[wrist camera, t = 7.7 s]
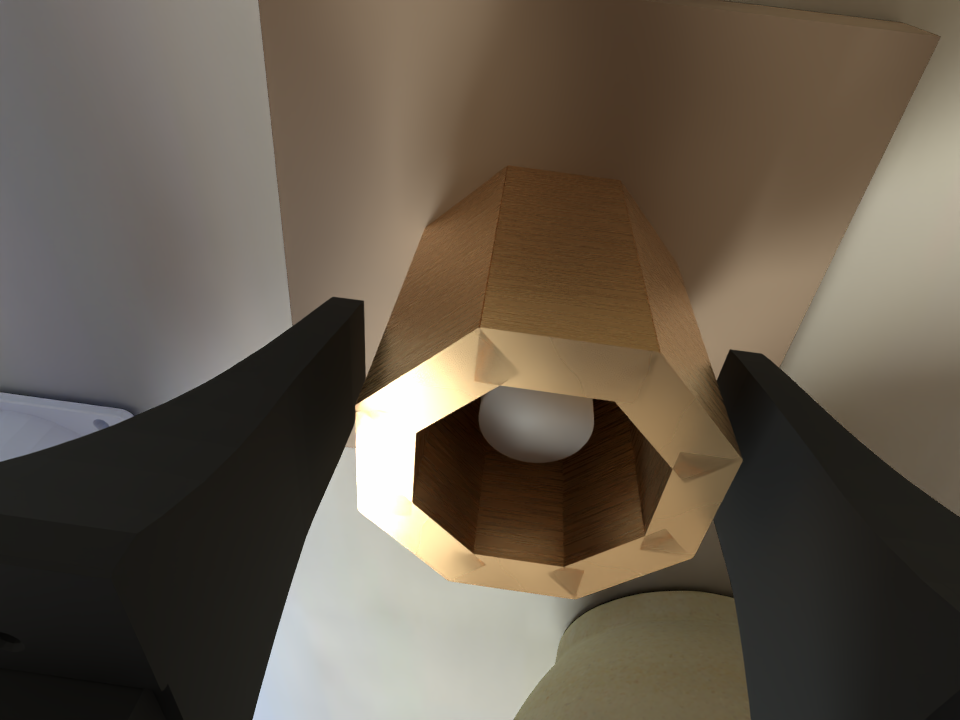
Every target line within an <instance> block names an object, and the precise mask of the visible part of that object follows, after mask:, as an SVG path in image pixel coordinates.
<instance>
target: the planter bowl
mask: <svg viewBox="0 0 960 720" xmlns="http://www.w3.org/2000/svg"><path fill="white" fill-rule="evenodd" d="M514 720H751V717H750V707H749V699H748V691H747V683H746V675H745V667H744V660H743V652H742V645H741V639H740V632H739V626H738V619H737V613H736V606H735V600H734V598H731V597H728V596H723V595H718V594H712V593H706V592H698V591H661V592H650V593H642V594H637V595H633V596H628V597H624V598H620V599H617V600H613V601H611V602H608V603H605V604H602V605H600V606H598V607H596V608H594V609H592V610H590V611H588V612H586V613H585V614H583V615H582V616H581V617H579V618H578V619H577V620H576V621H574V622H573V623H572V624H571V625H570V626H569V627H568V629H567V630H566V631H565V633H564V634H563V636H562V638H561V640H560V643H559V646H558V651H557V657H556V662H555V665H554V666H553V667H552V668H551V669H550V670H549V671H548V673H547V674H546V675H545V676H544V677H543V678H542V679H541V681H540V682H539V683H538V685H537V686H536V687H535V689H534V690H533V691H532V693H531V694H530V695H529V697H528V698H527V700H526V701H525V703H524V704H523V706H522V707H521V709H520V710H519V712H518V713H517V715H516V717H515V718H514Z"/></svg>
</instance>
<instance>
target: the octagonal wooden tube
mask: <svg viewBox="0 0 960 720" xmlns="http://www.w3.org/2000/svg"><path fill="white" fill-rule="evenodd" d="M500 385H501V386H508V387H515V388H522V389H529V390H536V391H544V392H551V393H558V394H565V395H572V396H579V397H586V398H593V412H594V427H593V431H592V434H591V436H590V438H589V440H588V441H587V442H586V444H585V445H584V446H583V447H582V448H581V449H580V450H578V451H577V452H575V453H574V454H572V455H570V456H568V457H566V458H564V459H561V460H557V461H553V462H546V463H531V462H524V461H519V460H516V459H513V458H510V457H507V456H506V455H504V454H502V453H500V452H499V451H497V450H496V449H495V448H493V447H492V446H491V445H490V444H489V443H488V442H487V440H486V439H485V438H484V436H483V434H482V432H481V429H480V426H479V410H480V403H481V396H482V395H484V394H486V393H487V392H489V391H491V390H493V389H494V388H496V387H498V386H500ZM355 419H356V457H357V495H358V510H359V511H360V512H361V513H363V514H364V515H365V516H366V517H368V518H369V519H370V520H371V521H373V522H374V523H375V524H377V525H378V526H379V527H380V528H382V529H383V530H384V531H385V532H387V533H388V534H389V535H391V536H392V537H393V538H394V539H396V540H397V541H398V542H399V543H401V544H402V545H403V546H405V547H406V548H407V549H408V550H410V551H411V552H412V553H413V554H415V555H416V556H417V557H419V558H420V559H421V560H422V561H424V562H425V563H426V564H427V565H429V566H430V567H431V568H433V569H434V570H435V571H436V572H438V573H439V574H440V575H441V576H443V577H444V578H445V579H447V580H448V581H452V582H459V583H465V584H472V585H479V586H486V587H493V588H500V589H507V590H514V591H521V592H527V593H534V594H541V595H548V596H555V597H562V598H569V599H578V598H581V597H584V596H587V595H589V594H592V593H595V592H598V591H601V590H604V589H606V588H609V587H612V586H615V585H618V584H621V583H624V582H626V581H629V580H632V579H635V578H638V577H641V576H643V575H646V574H649V573H652V572H655V571H658V570H661V569H663V568H666V567H669V566H672V565H675V564H678V563H680V562H683V561H686V560H689V559H692V558H693V557H694V555H695V553H696V551H697V550H698V548H699V546H700V544H701V542H702V540H703V538H704V536H705V534H706V532H707V530H708V528H709V526H710V524H711V522H712V520H713V518H714V516H715V514H716V512H717V510H718V508H719V506H720V505H721V503H722V501H723V499H724V497H725V495H726V493H727V491H728V489H729V487H730V485H731V483H732V481H733V479H734V477H735V475H736V473H737V471H738V469H739V467H740V465H741V463H742V461H743V459H742V456H741V453H740V450H739V447H738V444H737V441H736V438H735V435H734V432H733V429H732V426H731V423H730V420H729V417H728V414H727V411H726V408H725V405H724V402H723V399H722V396H721V393H720V390H719V387H718V384H717V381H716V378H715V375H714V372H713V369H712V366H711V363H710V360H709V357H708V354H707V351H706V348H705V345H704V342H703V339H702V336H701V333H700V330H699V327H698V324H697V321H696V318H695V315H694V312H693V309H692V306H691V303H690V300H689V297H688V294H687V291H686V288H685V285H684V282H683V279H682V276H681V273H680V270H679V267H678V264H677V262H676V260H675V259H674V257H673V256H672V254H671V253H670V252H669V250H668V249H667V247H666V246H665V244H664V243H663V241H662V240H661V239H660V237H659V236H658V234H657V233H656V231H655V230H654V228H653V227H652V225H651V224H650V223H649V221H648V220H647V218H646V217H645V215H644V214H643V212H642V211H641V209H640V208H639V207H638V205H637V204H636V202H635V201H634V199H633V198H632V196H631V195H630V193H629V192H628V191H627V189H626V188H625V186H624V185H623V183H622V182H621V181H620V180H614V179H607V178H599V177H592V176H584V175H577V174H569V173H562V172H555V171H547V170H540V169H532V168H525V167H517V166H510V165H508V166H506V167H505V168H503V169H502V170H501V171H499V172H498V173H497V174H495V175H494V176H493V177H491V178H490V179H489V180H488V181H486V182H485V183H484V184H482V185H481V186H480V187H478V188H477V189H476V190H474V191H473V192H472V193H470V194H469V195H468V196H466V197H465V198H464V199H462V200H461V201H460V202H458V203H457V204H456V205H455V206H453V207H452V208H451V209H449V210H448V211H447V212H445V213H444V214H443V215H441V216H440V217H439V218H437V219H436V220H435V221H433V222H432V223H431V224H429V225H428V226H427V227H425V229H424V231H423V234H422V237H421V239H420V242H419V244H418V247H417V249H416V252H415V254H414V257H413V260H412V262H411V265H410V267H409V270H408V272H407V275H406V277H405V280H404V283H403V285H402V288H401V290H400V293H399V295H398V298H397V300H396V303H395V305H394V308H393V311H392V313H391V316H390V318H389V321H388V323H387V326H386V328H385V331H384V334H383V336H382V339H381V341H380V344H379V346H378V349H377V351H376V354H375V357H374V359H373V362H372V364H371V367H370V369H369V372H368V374H367V377H366V380H365V382H364V385H363V387H362V390H361V392H360V395H359V397H358V400H357V402H356V405H355Z"/></svg>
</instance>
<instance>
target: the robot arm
mask: <svg viewBox="0 0 960 720" xmlns="http://www.w3.org/2000/svg"><path fill="white" fill-rule="evenodd" d="M365 380H366V366H365V318H364V301H363V300H355V299H348V298H340V297H331V298H330V299H329V300H327V301H326V302H324V303H323V304H322V305H320V306H319V307H318V308H316V309H315V310H314V311H312V312H311V313H310V314H308V315H307V316H306V317H304V318H303V319H302V320H300V321H299V322H297V323H296V324H295V325H293V326H292V327H291V328H289V329H288V330H287V331H285V332H284V333H282V334H281V335H280V336H278V337H277V338H275V339H274V340H273V341H271V342H270V343H268V344H267V345H266V346H264V347H263V348H261V349H259V350H258V351H256V352H255V353H253V354H252V355H250V356H248V357H247V358H245V359H244V360H242V361H241V362H239V363H237V364H236V365H234V366H233V367H231V368H230V369H228V370H226V371H225V372H223V373H221V374H220V375H218V376H216V377H215V378H213V379H211V380H209V381H207V382H206V383H204V384H202V385H200V386H198V387H196V388H194V389H192V390H190V391H188V392H186V393H184V394H182V395H180V396H179V397H177V398H175V399H172V400H170V401H168V402H166V403H164V404H162V405H159V406H157V407H155V408H152V409H150V410H148V411H145V412H143V413H141V414H138V415H136V416H133V415H132V414H131V413H130V412H128V411H126V410H123V409H118V408H111V407H103V406H96V405H89V404H82V403H74V402H67V401H60V400H52V399H45V398H38V397H31V396H23V395H16V394H9V393H1V392H0V720H252V719H253V715H254V712H255V708H256V704H257V700H258V696H259V693H260V689H261V685H262V682H263V678H264V675H265V671H266V668H267V664H268V660H269V657H270V653H271V650H272V646H273V643H274V639H275V636H276V632H277V629H278V626H279V622H280V619H281V616H282V612H283V609H284V606H285V602H286V599H287V596H288V592H289V589H290V586H291V582H292V579H293V576H294V573H295V570H296V567H297V564H298V560H299V557H300V554H301V551H302V548H303V545H304V542H305V539H306V536H307V534H308V531H309V528H310V526H311V523H312V521H313V518H314V516H315V514H316V511H317V509H318V507H319V505H320V502H321V500H322V498H323V496H324V493H325V491H326V489H327V487H328V484H329V482H330V480H331V477H332V475H333V473H334V471H335V468H336V466H337V464H338V462H339V459H340V457H341V455H342V452H343V450H344V448H345V446H346V443H347V441H348V439H349V436H350V434H351V432H352V429H353V427H354V424H355V420H356V419H355V405H356V402H357V400H358V397H359V395H360V392H361V390H362V387H363V385H364V382H365ZM717 384H718V387H719V390H720V393H721V396H722V399H723V402H724V405H725V408H726V411H727V414H728V417H729V420H730V423H731V426H732V429H733V432H734V435H735V438H736V441H737V444H738V447H739V450H740V453H741V456H742V459H743V461H742V463H741V465H740V467H739V469H738V471H737V473H736V475H735V477H734V479H733V481H732V483H731V485H730V487H729V489H728V491H727V493H726V495H725V497H724V499H723V501H722V503H721V505H720V506H719V508H718V510H717V512H716V514H715V516H714V518H713V519H714V523H715V527H716V530H717V534H718V538H719V541H720V545H721V549H722V552H723V556H724V559H725V563H726V567H727V570H728V574H729V578H730V582H731V587H732V591H733V596H734V600H735V606H736V613H737V619H738V626H739V632H740V639H741V645H742V652H743V660H744V667H745V675H746V683H747V691H748V699H749V707H750V717H751V720H960V517H959V516H957V515H956V514H954V513H953V512H951V511H950V510H948V509H947V508H945V507H944V506H943V505H941V504H940V503H938V502H937V501H936V500H934V499H933V498H931V497H930V496H929V495H927V494H926V493H925V492H923V491H922V490H920V489H919V488H918V487H916V486H915V485H913V484H912V483H911V482H909V481H908V480H907V479H905V478H904V477H903V476H901V475H900V474H899V473H898V472H896V471H895V470H894V469H892V468H891V467H890V466H889V465H888V464H886V463H885V462H884V461H883V460H881V459H880V458H879V457H878V456H877V455H875V454H874V453H873V452H872V451H871V450H869V449H868V448H867V447H866V446H865V445H863V444H862V443H861V442H860V441H859V440H857V439H856V438H855V437H854V436H853V435H852V434H851V433H849V432H848V431H847V430H846V429H845V428H844V427H843V426H842V425H840V424H839V423H838V422H837V421H836V420H835V419H834V418H833V417H832V416H831V415H829V414H828V413H827V412H826V411H825V410H824V409H823V408H822V407H821V406H820V405H819V404H818V403H816V402H815V401H814V400H813V399H812V398H811V397H810V396H809V395H808V394H807V393H806V392H805V391H804V390H803V389H802V388H800V387H799V386H798V385H797V384H796V383H795V382H794V381H793V380H792V379H791V378H790V377H789V376H788V375H787V374H785V373H784V372H783V371H782V370H781V369H780V368H779V367H778V366H777V365H775V364H774V363H773V362H772V361H771V360H770V359H768V358H767V357H766V356H765V355H763V354H762V353H754V352H747V351H739V350H732V349H730V350H729V352H728V354H727V357H726V359H725V362H724V364H723V366H722V369H721V371H720V374H719V376H718V378H717Z"/></svg>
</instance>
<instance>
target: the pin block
mask: <svg viewBox="0 0 960 720" xmlns="http://www.w3.org/2000/svg"><path fill="white" fill-rule="evenodd" d="M258 2H259V12H260V21H261V31H262V40H263V50H264V59H265V69H266V78H267V88H268V97H269V107H270V116H271V126H272V135H273V145H274V154H275V164H276V173H277V183H278V192H279V202H280V211H281V221H282V230H283V240H284V249H285V259H286V268H287V278H288V287H289V297H290V306H291V316H292V326H293V325H295V324H296V323H297V322H299V321H300V320H302V319H303V318H304V317H306V316H307V315H308V314H310V313H311V312H312V311H314V310H315V309H316V308H318V307H319V306H320V305H322V304H323V303H324V302H326V301H327V300H329V299H330V298H331V297H340V298H348V299H355V300H363V301H364V318H365V366H366V377H367V374H368V372H369V369H370V367H371V364H372V362H373V359H374V357H375V354H376V351H377V349H378V346H379V344H380V341H381V339H382V336H383V334H384V331H385V328H386V326H387V323H388V321H389V318H390V316H391V313H392V311H393V308H394V305H395V303H396V300H397V298H398V295H399V293H400V290H401V288H402V285H403V283H404V280H405V277H406V275H407V272H408V270H409V267H410V265H411V262H412V260H413V257H414V254H415V252H416V249H417V247H418V244H419V242H420V239H421V237H422V234H423V231H424V229H425V227H427V226H428V225H429V224H431V223H432V222H433V221H435V220H436V219H437V218H439V217H440V216H441V215H443V214H444V213H445V212H447V211H448V210H449V209H451V208H452V207H453V206H455V205H456V204H457V203H458V202H460V201H461V200H462V199H464V198H465V197H466V196H468V195H469V194H470V193H472V192H473V191H474V190H476V189H477V188H478V187H480V186H481V185H482V184H484V183H485V182H486V181H488V180H489V179H490V178H491V177H493V176H494V175H495V174H497V173H498V172H499V171H501V170H502V169H503V168H505V167H506V166H508V165H510V166H517V167H525V168H532V169H540V170H547V171H555V172H562V173H569V174H577V175H584V176H592V177H599V178H607V179H614V180H620V181H621V182H622V183H623V185H624V186H625V188H626V189H627V191H628V192H629V193H630V195H631V196H632V198H633V199H634V201H635V202H636V204H637V205H638V207H639V208H640V209H641V211H642V212H643V214H644V215H645V217H646V218H647V220H648V221H649V223H650V224H651V225H652V227H653V228H654V230H655V231H656V233H657V234H658V236H659V237H660V239H661V240H662V241H663V243H664V244H665V246H666V247H667V249H668V250H669V252H670V253H671V254H672V256H673V257H674V259H675V260H676V262H677V264H678V267H679V270H680V273H681V276H682V279H683V282H684V285H685V288H686V291H687V294H688V297H689V300H690V303H691V306H692V309H693V312H694V315H695V318H696V321H697V324H698V327H699V330H700V333H701V336H702V339H703V342H704V345H705V348H706V351H707V354H708V357H709V360H710V363H711V366H712V369H713V372H714V375H715V378H716V381H717V378H718V376H719V374H720V371H721V369H722V366H723V364H724V362H725V359H726V357H727V354H728V352H729V350H730V349H732V350H739V351H747V352H754V353H762V354H763V355H765V356H766V357H767V358H768V359H770V360H771V361H772V362H773V363H774V364H775V365H777V366H778V367H780V365H781V363H782V361H783V359H784V357H785V355H786V353H787V351H788V349H789V347H790V345H791V342H792V340H793V338H794V336H795V334H796V332H797V330H798V328H799V326H800V324H801V322H802V320H803V318H804V316H805V314H806V312H807V310H808V308H809V306H810V304H811V302H812V299H813V297H814V295H815V293H816V291H817V289H818V287H819V285H820V283H821V281H822V279H823V277H824V275H825V273H826V271H827V269H828V267H829V265H830V263H831V261H832V259H833V256H834V254H835V252H836V250H837V248H838V246H839V244H840V242H841V240H842V238H843V236H844V234H845V232H846V230H847V228H848V226H849V224H850V222H851V220H852V218H853V216H854V213H855V211H856V209H857V207H858V205H859V203H860V201H861V199H862V197H863V195H864V193H865V191H866V189H867V187H868V185H869V183H870V181H871V179H872V177H873V175H874V173H875V170H876V168H877V166H878V164H879V162H880V160H881V158H882V156H883V154H884V152H885V150H886V148H887V146H888V144H889V142H890V140H891V138H892V136H893V134H894V132H895V130H896V127H897V125H898V123H899V121H900V119H901V117H902V115H903V113H904V111H905V109H906V107H907V105H908V103H909V101H910V99H911V97H912V95H913V93H914V91H915V89H916V87H917V84H918V82H919V80H920V78H921V76H922V74H923V72H924V70H925V68H926V66H927V64H928V62H929V60H930V58H931V56H932V54H933V52H934V50H935V48H936V46H937V44H938V41H939V39H940V36H938V35H935V34H932V33H929V32H927V31H924V30H921V29H918V28H916V27H913V26H910V25H907V24H905V23H902V22H893V21H885V20H877V19H869V18H860V17H852V16H844V15H836V14H828V13H819V12H811V11H803V10H795V9H787V8H778V7H770V6H762V5H754V4H745V3H737V2H729V1H721V0H258ZM479 426H480V429H481V432H482V434H483V436H484V438H485V439H486V440H487V442H488V443H489V444H490V445H491V446H492V447H493V448H495V449H496V450H497V451H499V452H500V453H502V454H504V455H506V456H507V457H510V458H513V459H516V460H519V461H524V462H531V463H546V462H553V461H557V460H561V459H564V458H566V457H568V456H570V455H572V454H574V453H575V452H577V451H578V450H580V449H581V448H582V447H583V446H584V445H585V444H586V442H587V441H588V440H589V438H590V436H591V434H592V431H593V427H594V412H593V398H586V397H579V396H572V395H565V394H558V393H551V392H544V391H536V390H529V389H522V388H515V387H508V386H501V385H500V386H498V387H496V388H494V389H493V390H491V391H489V392H487V393H486V394H484V395H482V396H481V403H480V410H479ZM345 447H350V448H356V420H355V424H354V427H353V429H352V432H351V434H350V436H349V439H348V441H347V443H346V446H345Z"/></svg>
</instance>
